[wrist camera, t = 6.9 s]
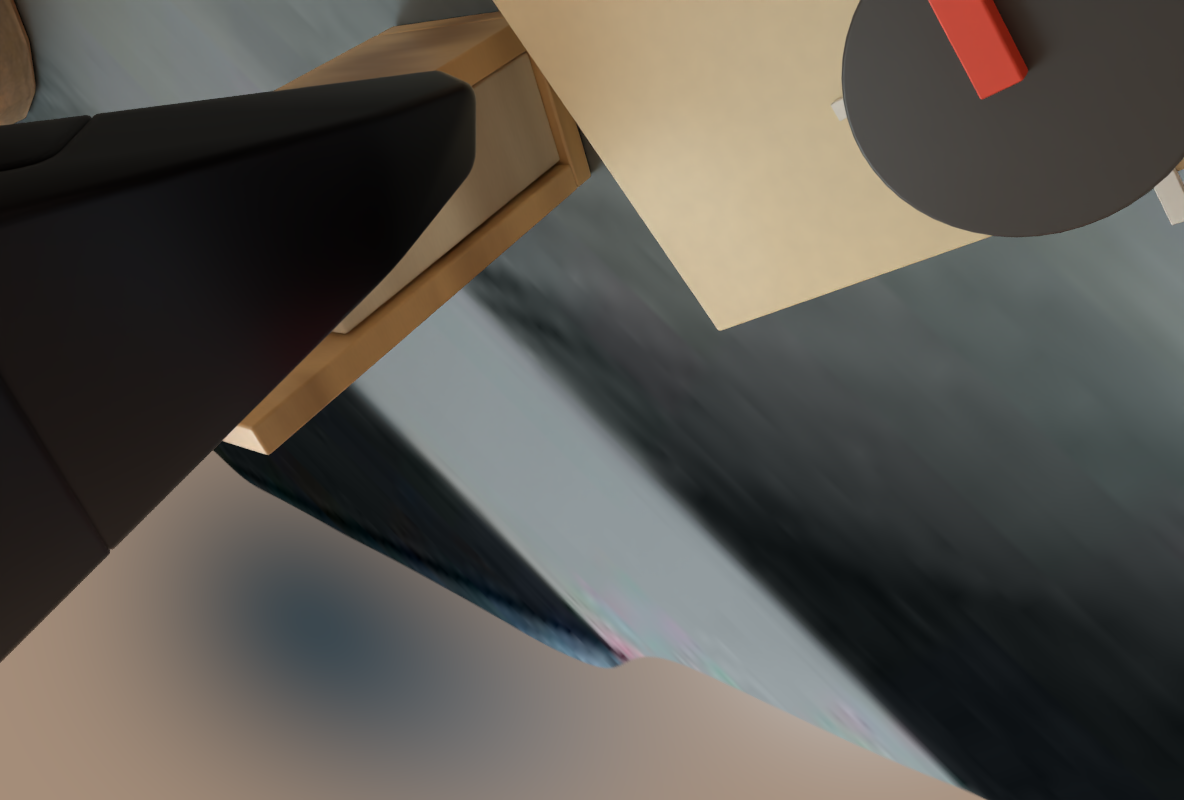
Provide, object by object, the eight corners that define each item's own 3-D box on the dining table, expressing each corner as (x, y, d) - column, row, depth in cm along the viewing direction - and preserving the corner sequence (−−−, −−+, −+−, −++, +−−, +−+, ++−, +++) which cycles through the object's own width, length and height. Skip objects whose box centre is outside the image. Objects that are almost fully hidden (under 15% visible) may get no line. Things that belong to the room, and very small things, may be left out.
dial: (1304, 39, 12) (1284, 174, 10) (997, 165, 16) (926, 288, 13) (1179, -270, 11) (1121, -204, 9) (876, -62, 14) (772, 29, 12)
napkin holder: (543, 3, 23) (137, 252, 16) (592, 176, 26) (269, 457, 19) (392, 25, 27) (-1, 237, 19) (450, 176, 30) (128, 413, 22)
